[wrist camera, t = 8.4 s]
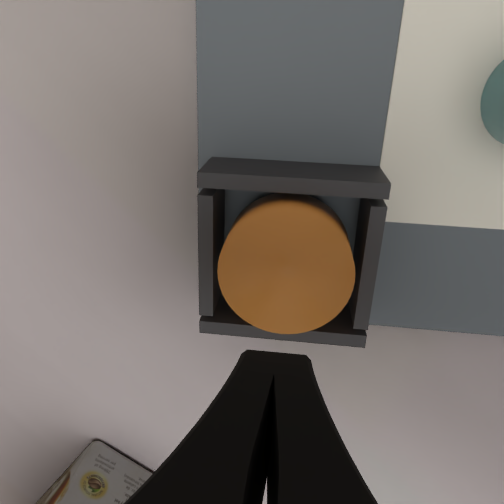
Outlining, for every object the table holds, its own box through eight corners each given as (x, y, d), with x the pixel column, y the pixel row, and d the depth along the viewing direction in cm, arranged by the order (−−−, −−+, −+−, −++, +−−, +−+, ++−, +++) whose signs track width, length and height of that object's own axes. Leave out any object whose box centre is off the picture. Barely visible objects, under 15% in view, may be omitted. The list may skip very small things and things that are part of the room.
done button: (357, 196, 15) (364, 215, 13) (342, 309, 17) (346, 339, 15) (227, 187, 16) (217, 205, 14) (226, 299, 17) (217, 328, 16)
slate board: (922, -84, 12) (1099, -124, 10) (699, 345, 18) (770, 397, 15) (199, -91, 14) (172, -127, 11) (203, 302, 20) (186, 342, 17)
